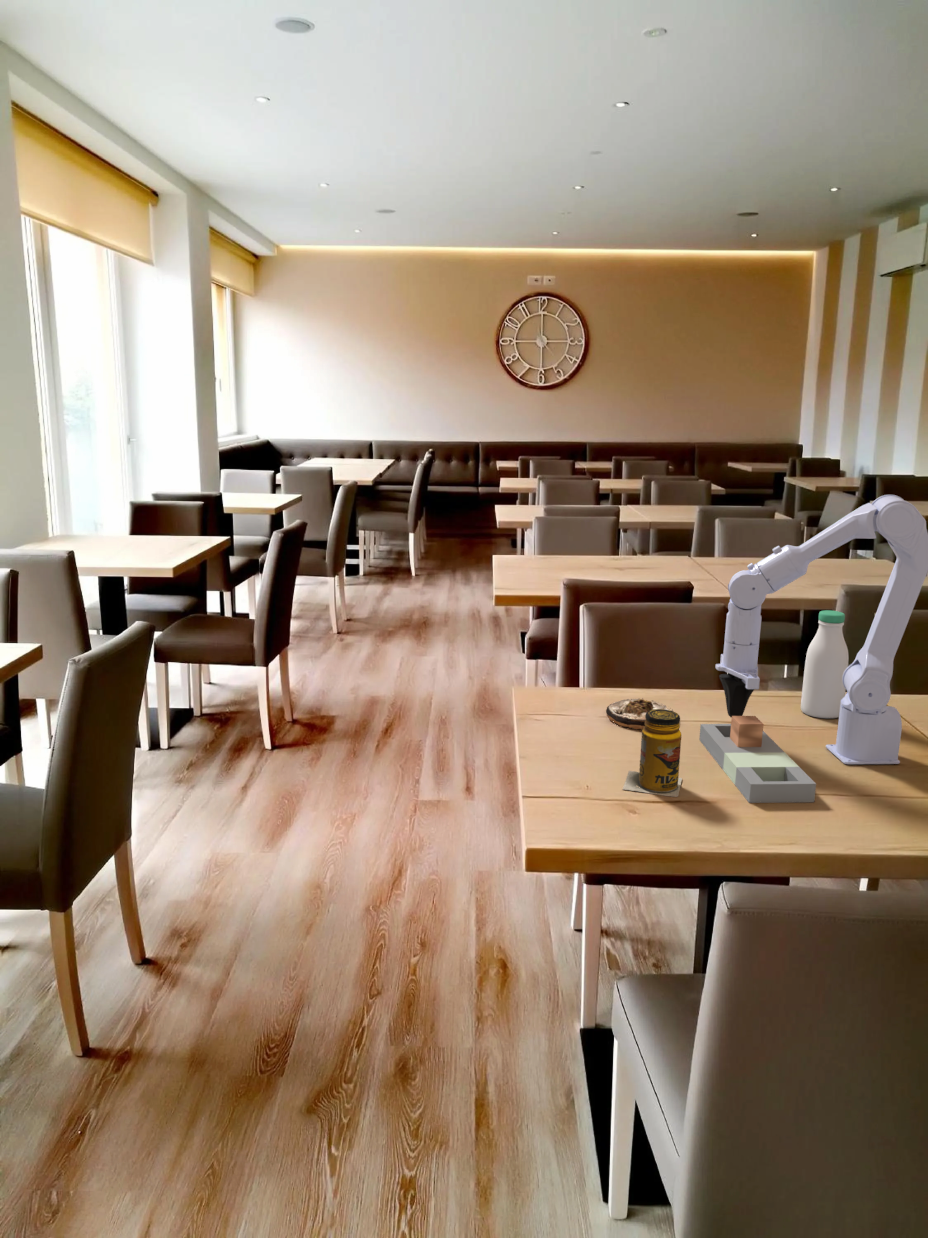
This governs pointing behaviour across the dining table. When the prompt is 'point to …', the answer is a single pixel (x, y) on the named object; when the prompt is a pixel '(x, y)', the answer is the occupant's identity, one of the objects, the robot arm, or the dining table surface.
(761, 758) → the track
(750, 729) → the block
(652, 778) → the condiment
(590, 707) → the dining table surface
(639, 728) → the plate of food
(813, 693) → the milk bottle
